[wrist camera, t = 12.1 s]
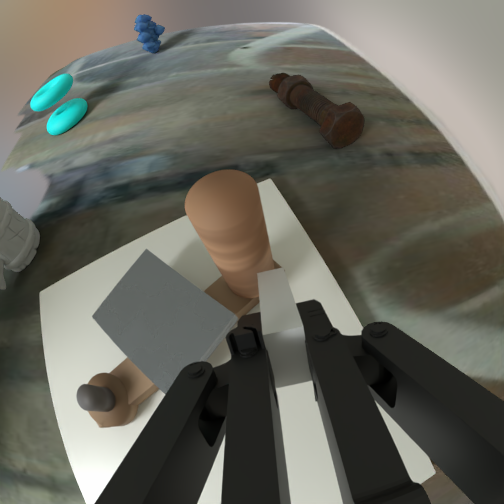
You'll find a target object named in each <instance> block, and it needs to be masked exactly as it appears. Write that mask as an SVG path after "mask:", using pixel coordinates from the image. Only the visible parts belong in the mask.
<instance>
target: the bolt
mask: <svg viewBox="0 0 504 504" xmlns="http://www.w3.org/2000/svg"><path fill="white" fill-rule="evenodd" d="M270 79H273V80H270V81H269V85H270V88H271V89H272V90H273V91H275V92H276V93H278V94H277V96H278V98H279V99H280V100H281V101H282V102H283V103H284V104H285V105H286V106H287V107H289V108H290V109H297V108H299V109H300V110H301V111H303V112H304V113H305V114H307V115H308V116H309V117H311V118H312V119H313V120H314V121H316V122H317V123H318V124H320V126H321V128H320V130H319V132H320V133H321V135H322V136H323V137H324V138H325V140H326V141H327V142H328V143H329V144H330V145H331V146H332V147H333V148H335V149H337V148H343V147H345V146H347V145H350V144H352V143H353V142H354V141H355V140H356V139H357V138H358V137H359V136H360V134H361V133H362V130H363V127H364V116H363V115H362V113H361V112H360V110H359V109H358V108H357V106H355V105H354V104H352V103H351V102H348V103H345V104H342V105H339V106H338V105H336V104H334V103H332V102H331V101H329V100H328V99H327V98H325V97H324V96H322V95H320V94H319V93H318V92H316V91H314V90H313V87H312V86H311V84H310V83H309V82H308V81H307V80H306V79H305V78H304V77H303V76H301V75H294V76H290V75H288V74H286V73H280V74H276V75H273V76H272V77H271V78H270Z"/></svg>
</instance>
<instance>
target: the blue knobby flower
mask: <svg viewBox="0 0 504 504" xmlns="http://www.w3.org/2000/svg"><path fill="white" fill-rule="evenodd" d="M151 18H152V17H150V16H149V15H145V14H144V15H138V17H137V18H136V20H135V23H136V25H135V28H134V30H136V31H138V32H140V34H139V36H138V38H137V40H138V41H139V42H141V43H144V44H143V47H142V48H143V49H144V50H146V51H149V52H151V53H156V52H157V51H158V49H159V46H160V43H161V41H160V40H158V38H159V35H161V34H162V33H163V32H164V29H165V28H164V27H163V26H161V25H156V23H155V22H153V21H151Z"/></svg>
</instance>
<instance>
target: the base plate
mask: <svg viewBox="0 0 504 504" xmlns="http://www.w3.org/2000/svg"><path fill="white" fill-rule="evenodd" d="M257 186H258V189H259V194H260V198H261V203H262V208H263V213H264V218H265V223H266V228H267V232H268V237H269V242H270V247H271V252H272V257H273V260H274V261H275V262H277V263H278V264H279V265H280V266H281V267H282V268H284V270H285V274H286V277H287V280H288V282H289V285H290V288H291V291H292V294H293V297H294V300H295V303H299V302H304V301H308V300H312V299H315V300H317V301H318V302H320V303H321V304H322V306H323V308H324V310H325V312H326V314H327V316H328V318H329V320H330V322H331V324H332V326H333V327H334V328H337V329H338V330H339V331H340V333H341V334H342V335H348V336H353V335H361V331H362V330H363V327H362V325H361V323H360V321H359V320H358V318H357V316H356V314H355V313H354V311H353V309H352V307H351V306H350V304H349V302H348V300H347V299H346V297H345V295H344V294H343V292H342V290H341V289H340V287H339V285H338V284H337V282H336V280H335V279H334V277H333V275H332V274H331V272H330V270H329V269H328V267H327V265H326V264H325V262H324V260H323V259H322V257H321V256H320V254H319V252H318V251H317V249H316V248H315V246H314V244H313V243H312V241H311V240H310V238H309V236H308V235H307V233H306V232H305V230H304V229H303V227H302V225H301V224H300V222H299V221H298V219H297V218H296V216H295V215H294V213H293V212H292V210H291V208H290V207H289V205H288V204H287V202H286V201H285V199H284V198H283V196H282V195H281V193H280V192H279V190H278V189H277V187H276V186H275V184H274V183H273V181H272V180H271V179H267V180H265V181H263V182H260V183H258V184H257ZM146 249H148V250H149V251H150V252H152V253H153V254H154V255H155V256H157V257H158V258H159V259H161V260H162V261H163V262H164V263H166V264H167V265H168V266H170V267H171V268H172V269H174V270H175V271H176V272H178V273H179V274H180V275H182V276H183V277H184V278H186V279H187V280H188V281H190V282H191V283H192V284H194V285H195V286H196V287H198V288H199V289H201V290H202V291H205V290H206V289H207V288H208V287H209V286H210V285H211V284H213V283H214V282H215V281H216V280H217V279H218V278H220V277H221V276H222V274H221V273H220V271H219V269H218V268H217V266H216V264H215V263H214V261H213V259H212V258H211V256H210V254H209V252H208V251H207V249H206V247H205V246H204V244H203V242H202V240H201V239H200V237H199V235H198V234H197V232H196V230H195V228H194V227H193V225H192V223H191V221H190V220H189V218H188V216H187V215H186V216H184V217H182V218H179V219H177V220H175V221H173V222H171V223H169V224H167V225H165V226H163V227H161V228H159V229H157V230H154V231H152V232H150V233H148V234H146V235H144V236H142V237H140V238H138V239H136V240H134V241H132V242H130V243H129V244H127V245H125V246H123V247H121V248H119V249H117V250H115V251H113V252H111V253H109V254H107V255H105V256H104V257H102V258H100V259H98V260H96V261H94V262H92V263H90V264H89V265H87V266H85V267H83V268H81V269H80V270H78V271H76V272H74V273H72V274H71V275H69V276H67V277H65V278H63V279H62V280H60V281H58V282H56V283H55V284H53V285H51V286H49V287H48V288H46V289H44V290H43V291H41V292H39V296H40V315H41V328H42V338H43V347H44V355H45V362H46V368H47V375H48V380H49V386H50V391H51V396H52V400H53V405H54V409H55V413H56V417H57V421H58V425H59V429H60V432H61V436H62V439H63V442H64V446H65V449H66V452H67V455H68V458H69V461H70V464H71V466H72V469H73V472H74V475H75V477H76V480H77V482H78V485H79V487H80V490H81V492H82V494H83V497H84V499H85V501H86V503H87V504H94V503H95V502H96V500H97V499H98V497H99V496H100V494H101V493H102V491H103V490H104V488H105V487H106V485H107V484H108V482H109V481H110V479H111V477H112V476H113V474H114V473H115V471H116V470H117V468H118V467H119V465H120V464H121V462H122V461H123V459H124V458H125V456H126V454H127V453H128V451H129V450H130V448H131V447H132V445H133V444H134V442H135V441H136V439H137V438H138V436H139V435H140V433H141V431H142V430H143V428H144V427H145V425H146V424H147V422H148V421H149V419H150V418H151V416H152V414H153V413H154V411H155V410H156V408H157V407H158V405H159V404H160V402H161V401H162V399H163V398H164V396H165V394H164V393H163V392H162V391H161V390H160V389H158V390H157V391H156V392H154V393H153V394H152V395H151V396H149V397H148V398H147V399H146V400H144V401H143V402H142V403H141V404H139V405H138V411H137V414H136V416H135V418H134V419H133V420H132V421H131V422H130V423H129V424H127V425H125V426H116V427H109V428H99V426H98V424H97V423H96V421H95V420H94V419H93V418H92V417H91V416H90V414H89V412H88V411H86V410H83V409H82V408H81V407H80V406H79V404H78V402H77V397H76V394H77V390H78V388H79V387H80V386H81V385H83V384H88V382H89V381H90V379H91V378H92V377H93V376H95V375H97V374H99V373H110V372H111V371H112V370H113V369H115V368H116V367H117V366H118V365H119V364H120V363H121V362H123V361H124V360H125V359H126V358H127V356H126V355H125V354H124V353H123V352H122V351H121V350H120V349H119V347H118V346H117V345H116V344H115V343H114V342H113V341H112V340H111V339H110V337H109V336H108V335H107V334H106V333H105V332H104V331H103V329H102V328H101V327H100V326H99V325H98V324H97V322H96V321H95V320H94V319H93V317H92V316H93V314H94V313H95V312H96V310H97V309H98V308H99V306H100V305H101V304H102V302H103V301H104V300H105V299H106V297H107V296H108V295H109V293H110V292H111V291H112V290H113V288H114V287H115V286H116V285H117V283H118V282H119V281H120V280H121V278H122V277H123V276H124V275H125V273H126V272H127V271H128V270H129V269H130V267H131V266H132V265H133V264H134V263H135V261H136V260H137V259H138V258H139V257H140V255H141V254H142V253H143V252H144V251H145V250H146ZM257 312H261V311H260V302H259V303H258V304H257V305H256V306H255V307H254V308H253V309H252V310H250V311H249V312H248V313H247V314H252V313H257ZM247 314H246V315H247ZM237 323H238V322H237ZM237 323H236V324H235V325H234V326H233V327H232V329H234V328H236V327H237ZM232 329H231V330H232ZM231 330H230V331H231ZM230 331H229V332H230ZM225 337H226V336H225ZM230 359H231V353H230V350H229V347H228V344H227V341H226V338H224V339H223V340H222V342H221V343H220V344H219V345H218V347H217V348H216V349H215V351H214V352H213V353H212V354H211V356H210V357H209V358H208V360H207V361H206V362H208V363H210V364H211V365H212V367H213V368H214V367H216V366H219V365H222V364H224V363H226V362H228V361H229V360H230ZM275 387H276V386H275ZM276 392H277V396H278V402H279V410H280V418H281V426H282V434H283V442H284V450H285V458H286V466H287V474H288V483H289V491H290V499H291V504H343V502H342V497H341V493H340V489H339V485H338V481H337V477H336V473H335V469H334V465H333V461H332V457H331V453H330V449H329V445H328V441H327V437H326V434H325V430H324V426H323V422H322V418H321V415H320V411H319V407H318V403H317V401H316V402H315V395H314V388H313V381H309V382H304V383H300V384H295V385H290V386H285V387H280V388H276ZM375 402H376V401H375ZM376 404H377V406H378V409H379V411H380V413H381V415H382V417H383V419H384V421H385V423H386V425H387V428H388V430H389V432H390V434H391V436H392V438H393V440H394V443H395V445H396V447H397V449H398V451H399V454H400V456H401V458H402V460H403V463H404V465H405V467H406V469H407V472H408V474H409V476H410V478H411V480H412V481H413V482H416V483H419V484H421V483H422V482H424V481H425V480H427V479H428V478H430V477H431V476H432V475H434V474H435V473H436V472H435V470H434V468H433V465H432V463H431V461H430V459H429V457H428V456H427V454H426V453H425V452H424V451H423V450H422V449H421V448H420V447H419V446H418V445H417V444H416V443H415V442H414V441H413V440H412V439H411V438H410V437H409V436H408V435H407V434H406V433H405V432H404V431H403V429H402V428H401V427H400V426H399V425H398V424H397V423H396V422H395V421H394V420H393V419H392V418H391V417H390V416H389V415H388V414H387V413H386V412H385V411H384V409H383V408H382V407H381V406H380V405H379V404H378V403H377V402H376ZM224 446H225V436H224V439H223V441H222V444H221V446H220V449H219V451H218V454H217V457H216V459H215V462H214V464H213V467H212V469H211V471H210V474H209V476H208V479H207V481H206V484H205V486H204V489H203V491H202V493H201V496H200V498H199V500H198V503H197V504H221V494H222V478H223V462H224Z"/></svg>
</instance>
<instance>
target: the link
mask: <svg viewBox="0 0 504 504" xmlns="http://www.w3.org/2000/svg"><path fill="white" fill-rule="evenodd" d="M185 211H186V214H187V216H188V218H189V220H190V221H191V223H192V225H193V227H194V228H195V230H196V232H197V234H198V235H199V237H200V239H201V240H202V242H203V244H204V246H205V247H206V249H207V251H208V252H209V254H210V256H211V258H212V259H213V261H214V263H215V264H216V266H217V268H218V269H219V271H220V273H221V274H222V276H221V277H220V278H218V279H217V280H216V281H215V282H214V283H213V284H211V285H210V286H209V287H208V288H207V289H206V290H205V291H203V292H205V293H206V294H207V295H209V296H210V297H212V298H213V299H214V300H216V301H217V302H219V303H220V304H221V305H223V306H224V307H226V308H227V309H228V310H230V311H231V312H233V313H234V314H235V315H236V316H237V317H238V320H239V319H240V318H241V316H242V315H246V314H247V313H248V312H249V311H250V310H252V309H253V308H254V307H255V306H256V305H257V304H258V303H259V302H260V300H259V288H258V276H257V273H260V272H265V271H269V270H274V269H278V268H282V267H281V266H280V265H279V264H278V263H277V262H275V261H274V260H273V257H272V252H271V247H270V242H269V237H268V232H267V228H266V223H265V218H264V213H263V208H262V203H261V198H260V194H259V189H258V186H257V183H256V182H255V180H254V179H253V178H252V177H251V176H249V175H248V174H246V173H244V172H241V171H238V170H220V171H216V172H213V173H210V174H208V175H206V176H204V177H203V178H201V179H200V180H198V181H197V182H196V183H195V184H194V185H193V186H192V188H191V189H190V190H189V192H188V194H187V196H186V200H185ZM284 271H285V270H284ZM237 322H238V321H237ZM237 322H236V323H237ZM236 323H235V324H236ZM158 389H159V388H158V387H157V386H156V385H155V384H154V383H153V382H152V381H151V380H150V379H149V378H148V377H146V376H145V375H144V374H143V373H142V372H141V371H140V370H139V369H138V368H137V366H136V365H135V364H134V363H133V362H132V361H131V360H130V359H129V358H128V357H127V358H126V359H125V360H124V361H123V362H121V363H120V364H119V365H118V366H117V367H116V368H115V369H113V370H112V371H111V372H110V373H99V374H97V375H95V376H93V377H92V378H91V379H90V381H89V382H88V384H83V385H81V386H80V387H79V388H78V390H77V394H76V397H77V402H78V404H79V406H80V407H81V408H82V409H83V410H86V411H88V412H89V414H90V416H91V417H92V418H93V419H94V420H95V421H96V423H97V424H98V426H99V428H109V427H116V426H125V425H127V424H129V423H130V422H131V421H132V420H133V419H134V418H135V416H136V414H137V411H138V405H139V404H141V403H142V402H143V401H144V400H146V399H147V398H148V397H149V396H151V395H152V394H153V393H154V392H156V391H157V390H158Z"/></svg>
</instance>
